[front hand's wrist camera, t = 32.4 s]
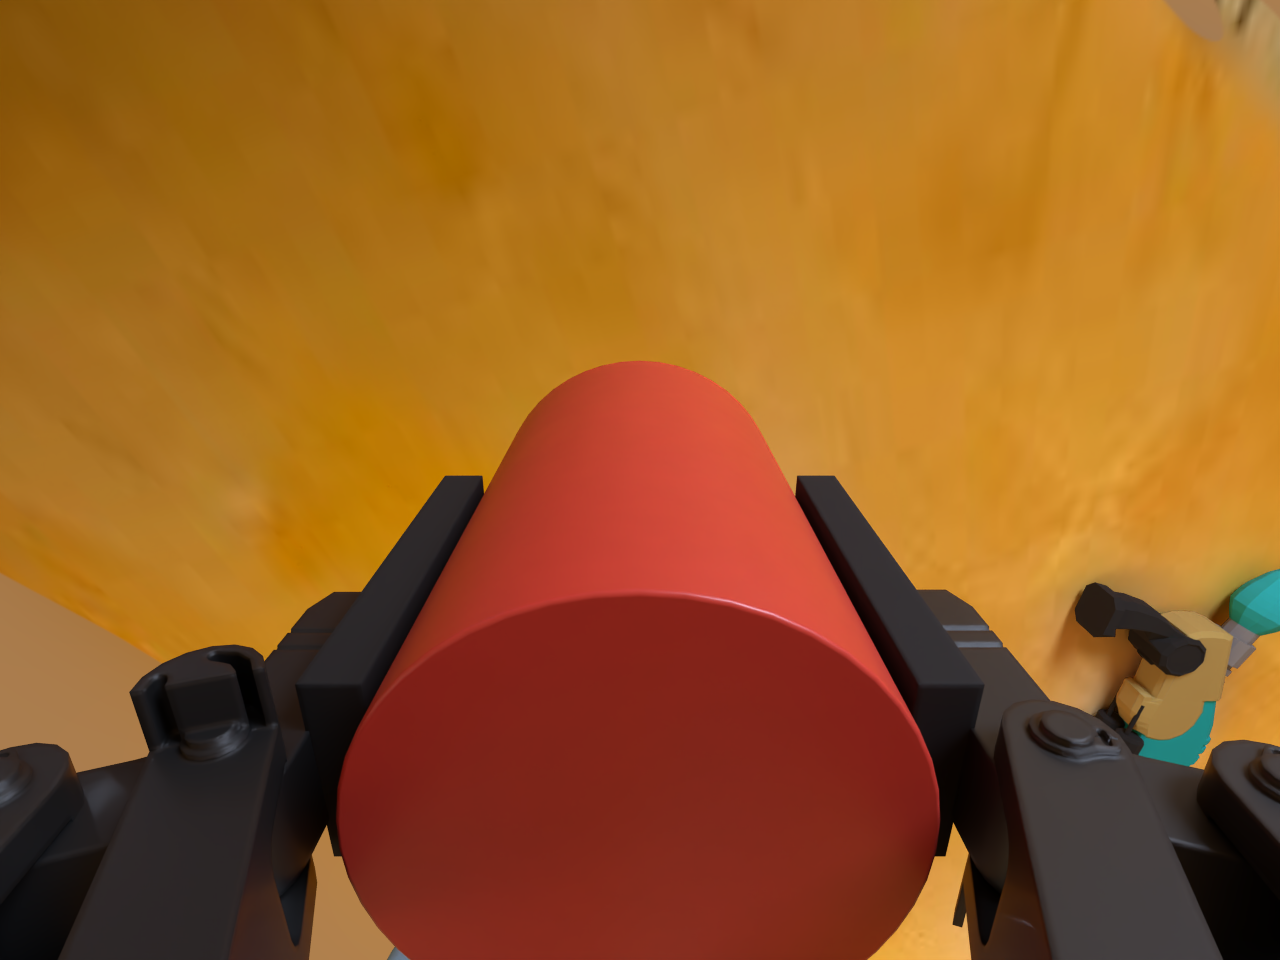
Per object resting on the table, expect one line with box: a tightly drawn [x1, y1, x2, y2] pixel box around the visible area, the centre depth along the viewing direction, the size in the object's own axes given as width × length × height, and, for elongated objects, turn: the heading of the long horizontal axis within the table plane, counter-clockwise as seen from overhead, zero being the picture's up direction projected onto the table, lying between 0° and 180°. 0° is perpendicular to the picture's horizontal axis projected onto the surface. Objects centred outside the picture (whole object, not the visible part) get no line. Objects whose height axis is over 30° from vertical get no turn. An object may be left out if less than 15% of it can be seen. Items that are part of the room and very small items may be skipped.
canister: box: [336, 361, 940, 960], centre depth 12 cm, size 6×6×10 cm
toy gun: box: [1075, 569, 1280, 766], centre depth 57 cm, size 4×26×15 cm
